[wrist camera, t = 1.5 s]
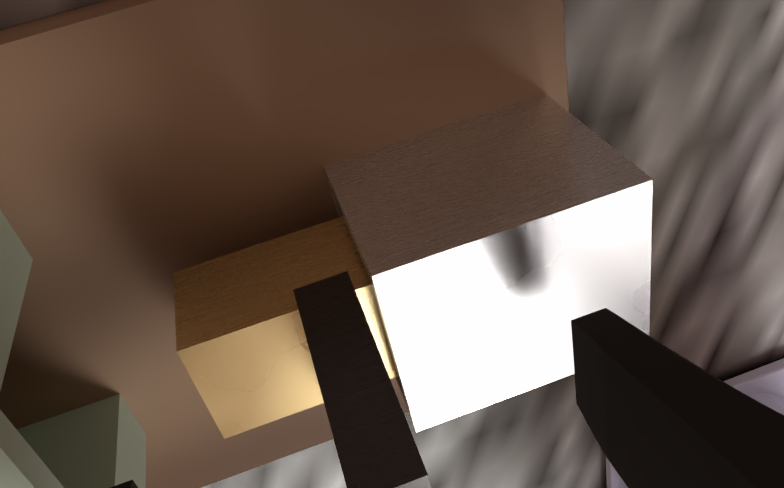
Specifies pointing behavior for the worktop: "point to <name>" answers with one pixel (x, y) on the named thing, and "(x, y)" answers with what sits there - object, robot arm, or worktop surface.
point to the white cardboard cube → (495, 250)
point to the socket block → (68, 430)
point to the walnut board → (212, 174)
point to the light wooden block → (298, 348)
